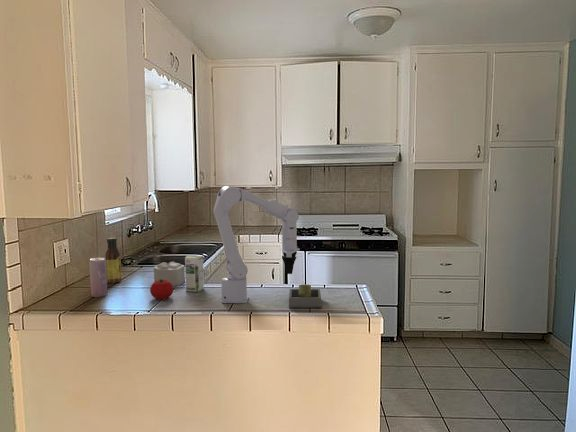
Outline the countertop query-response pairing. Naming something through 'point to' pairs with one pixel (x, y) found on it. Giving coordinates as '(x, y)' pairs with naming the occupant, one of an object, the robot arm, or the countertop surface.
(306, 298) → the bin
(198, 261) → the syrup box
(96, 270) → the beverage can
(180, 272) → the egg container
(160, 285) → the tomato
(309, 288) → the green cylinder
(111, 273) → the sauce bottle
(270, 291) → the countertop surface
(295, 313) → the countertop surface
